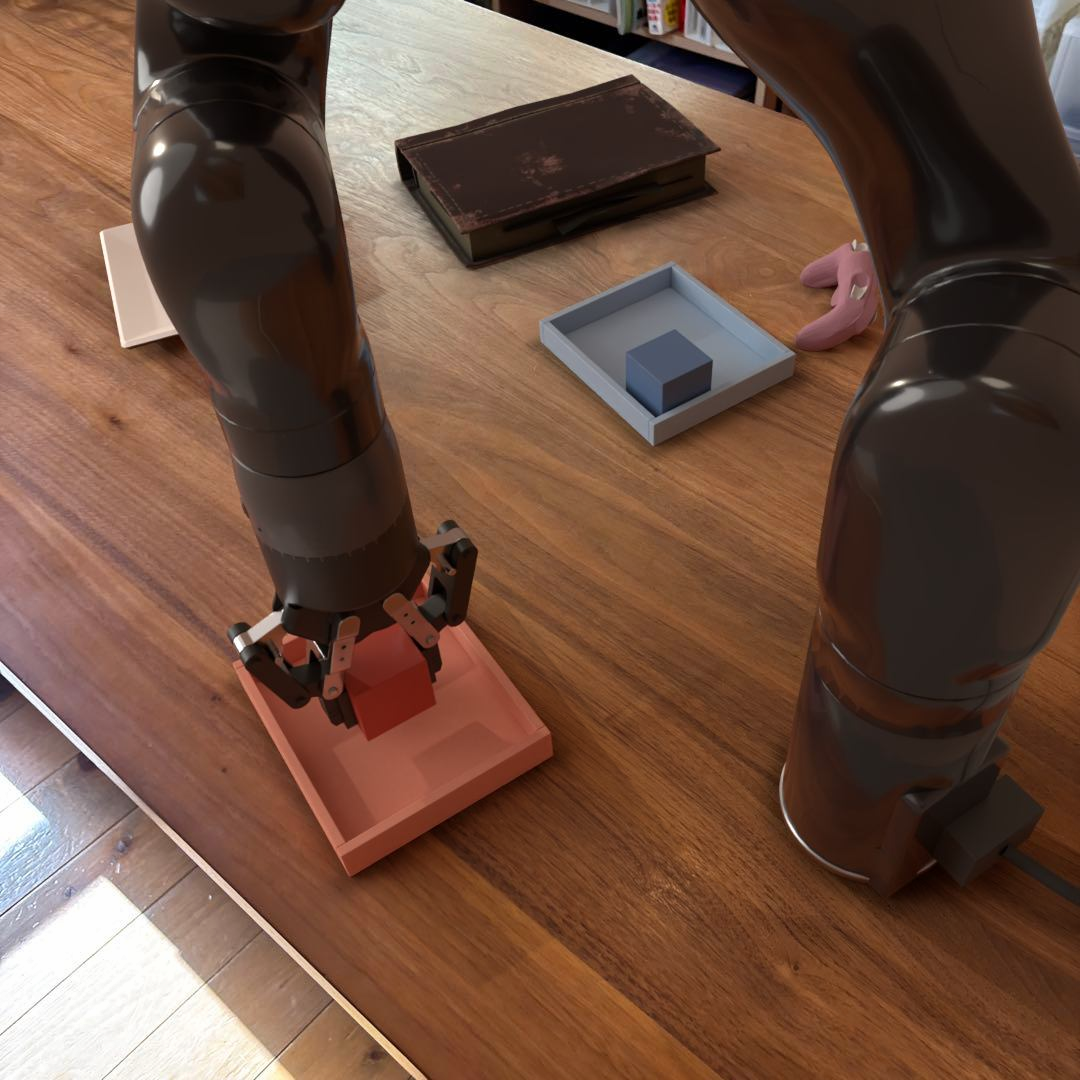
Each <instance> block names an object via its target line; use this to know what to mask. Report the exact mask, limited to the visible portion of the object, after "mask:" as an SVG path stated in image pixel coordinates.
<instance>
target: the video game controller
mask: <svg viewBox="0 0 1080 1080" xmlns="http://www.w3.org/2000/svg"><path fill="white" fill-rule="evenodd" d="M799 283H800V284H801V285H803V286H806V287H811V288H816V289H824V288H829V287H833V286H835V285H837V287H836V288H835V291H834V292H833V293H832V297H831V298H830V299H831V300H830V306H831V307H832V309H831V310H829V311H828V312H827V313H825V314H824V315H822V316H820V317H819V318H817V319H815V320H813V321H811V322H810V323H807V324H806V325H804V326H803V327H802V328H801V329H800V330H798V332H796V334H795V337H794V345H795V347H796V348H798V349H800V350H801V351H802V350H803V351H809V352H820V351H826V350H829V349H831V348H834V347H837V346H838V345H841V343H843V342H845V341H847V340H849V339H850V338H851V337H853V336H857V335H860V334H861V333H862V332H863V331H865V329H866V328H867V327H869V326H871V325H872V324H874V323H875V322H876V320H877V316H878V311H877V308H878V305H879V296H878V294H877V290H878V287H879V284H878V280H877V277H876V273H875V270H874V266H873V263H872V259H871V256H870V252H869V249H868V246H867V243H866V242H858V241H857V239H853V241H849V242H848V241H847V242H846V243H844V244H842V245H840V246H839V247H838V248H836V249H834V250H833V251H832V252H830V253H828V254H826V255H824V256H822V257H819V258H817V259H816V260H814V261H812V262H811V263H809V264H807V265H806V266H805V267H804V268H803V269H802V271H801V272H800V275H799Z"/></svg>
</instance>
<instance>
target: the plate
mask: <svg viewBox="0 0 1080 1080" xmlns="http://www.w3.org/2000/svg"><path fill="white" fill-rule="evenodd" d="M99 237H100V242H101V248H102V253H103V258H104V264H105V269H106V275H107V279H108V284H109V289H110V294H111V300H112V305H113V310H114V315H115V320H116V326H117V331H118V335H119V336H118V337H119V342H120V347H121V348H124V349H127V350H133V349H138V348H140V347H144V346H148V345H151V344H156V343H159V342H162V341H163V342H164V341H166V340H170V339H174V338H178V337H180V336H179V334H178V332H177V331H176V329H175V327H174V326H173V324H172V322H171V321H170V319H169V317H168V315H167V314H166V312H165V310H164V308H163V306H162V304H161V302H160V300H159V298H158V296H157V294H156V292H155V289H154V287H153V285H152V282H151V280H150V277H149V275H148V272H147V270H146V267H145V264H144V261H143V258H142V255H141V252H140V249H139V246H138V242H137V239H136V235H135V230H134V226H133V222H130V223H125V224H122V225H117V226H113V227H109V228H105V229H103V230H101V231H100V232H99Z"/></svg>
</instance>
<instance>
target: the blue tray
mask: <svg viewBox="0 0 1080 1080" xmlns="http://www.w3.org/2000/svg"><path fill="white" fill-rule="evenodd" d="M538 325H539V336H540V338H539V339H540V342H541V343H542V345H544V346H545V347H546V349H548V350H549V351H550V352H552V353H553V354H554V355H555V357H557V358H558V359H559V360H560V361H561V362H563V364H564V365H565V366H566V367H568V369H570V370H571V371H572V372H573V374H575V375H576V376H577V377H578V378H580V379H581V381H583V382H584V383H585V384H586V385H587V386H588V387H589V388H590V389H591V390H592V391H594V393H596V394H597V395H598V397H600V398H601V399H602V400H603V401H604V402H605V403H606V404H607V405H609V406H610V407H611V409H613V411H615V412H616V413H617V414H618V415H619V416H620V417H621V418H622V419H623V420H624V421H626V422H627V423H628V424H629V425H630V426H631V427H632V428H633V429H634V430H635V431H636V432H638V433H639V434H640V436H642V437H643V438H644V439H645V440H646V441H647V442H648V443H650V444H651V446H653V447H655V446H657V445H659V444H661V443H663V442H665V441H666V440H669V439H671V438H673V437H675V436H677V435H678V434H680V433H683V432H684V431H686V430H688V429H690V428H692V427H695V426H696V425H698V424H700V423H702V422H705V421H706V420H708V419H710V418H712V417H714V416H716V415H718V414H720V413H721V412H723V411H726V410H728V409H730V408H732V407H733V406H735V405H737V404H739V403H741V402H743V401H746V400H747V399H749V398H752V397H753V396H756V395H757V394H759V393H761V392H762V391H764V390H765V391H766V390H767V389H768V388H771V387H773V386H775V385H776V384H779V383H780V382H782V381H785V380H786V379H788V378H790V377H792V376H794V371H795V363H796V357H797V353H795V352H794V351H793V350H792V349H790V348H789V347H788V346H786V345H785V344H783V343H782V342H781V341H780V340H778V339H777V338H775V336H773V335H772V334H770V333H769V332H768V331H766V330H765V329H764V328H762V327H761V326H759V325H758V324H757V323H756V322H754V321H753V320H751V318H749V317H748V316H746V315H745V314H744V313H742V312H741V311H740V310H739V309H738V308H736V307H734V306H733V304H730V303H729V302H728V301H726V300H725V299H724V298H723V297H722V296H720V295H718V293H716V292H715V291H713V290H712V289H711V288H709V287H708V286H707V285H705V284H704V283H703V282H702V281H700V280H698V278H696V277H695V276H694V275H692V274H691V273H690V272H688V271H687V270H685V269H684V268H682V267H681V266H680V265H679V264H678V263H677V262H674V260H671V261H669V262H667V263H665V264H662V265H660V266H657V267H656V268H654V269H651V270H649V271H647V272H645V273H642V274H641V275H637V276H636V277H633V278H631V279H629V280H627V281H624V282H623V283H620V284H618V285H615V286H613V287H610V288H609V289H606V290H604V291H602V292H599V293H597V294H595V295H593V296H591V297H589V298H585V299H583V300H582V301H579V302H577V303H575V304H573V305H570V306H569V307H566V308H564V309H561V310H559V311H558V312H554V313H553V314H551V315H548V316H546V317H543V318H542V319H539V321H538ZM674 329H676V330H677V331H678V332H679V333H681V334H682V335H683V336H684V337H685V338H687V339H688V340H689V341H690V342H692V343H693V344H694V345H695V346H697V347H698V348H699V349H700V350H701V351H703V352H704V353H705V354H706V355H708V356H709V357H710V358H711V359H713V368H712V382H711V390H710V391H708V392H706V393H704V394H702V395H700V396H698V397H696V398H694V399H692V400H690V401H688V402H686V403H684V404H682V405H680V406H678V407H676V408H674V409H672V410H670V411H668V412H666V413H664V414H662V415H660V416H658V417H656V418H655V417H654V416H653V415H652V414H651V413H650V412H649V411H648V410H646V409H645V408H644V407H643V406H642V405H641V404H640V403H639V402H638V401H636V400H635V399H634V398H633V397H632V396H631V395H630V394H629V393H628V392H626V352H627V351H629V350H631V349H634V348H636V347H638V346H640V345H642V344H644V343H646V342H648V341H650V340H653V339H655V338H657V337H659V336H661V335H663V334H665V333H667V332H670V331H672V330H674Z"/></svg>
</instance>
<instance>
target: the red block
mask: <svg viewBox="0 0 1080 1080" xmlns="http://www.w3.org/2000/svg"><path fill="white" fill-rule="evenodd" d="M344 687H345V688H346V690H347V692H348V695H349V698H350V701H351V704H352V707H353V710H354V713H355V716H356V719H357V722H358V724H357V725H358V726H359V728H360V730H361V731H362V733H363V734H364V736H365V738H366V739H367V741H371V740H372V739H374V738H376V737H378V736H380V735H381V734H383V733H385V732H387V731H389V730H391V729H392V728H394V727H396V726H398V725H400V724H401V723H403V722H405V721H407V720H409V719H411V718H412V717H414V716H416V715H418V714H420V713H421V712H423V711H425V710H427V709H429V708H431V707H432V706H434V705H436V700H435V696H434V691H433V687H432V683H431V678H430V674H429V670H428V665H427V661H426V659H425V657H424V656H423V654H422V653H421V652H420V650H419V649H418V647H417V646H416V644H415V643H414V642H413V640H412V639H411V637H410V636H409V635H408V633H407V632H406V631H405V630H404V629H403V628H402V627H401V626H400V625H399V624H398V623H396V624H394V625H392V626H390V627H388V628H386V629H383V630H380V631H376V632H373V633H372V634H370V635H369V636H367V637H366V638H365V639H363V640H362V641H361V642H359V643H357V644H355V645H354V652H353V659H352V666H351V669H349V670H346V674H345V681H344Z"/></svg>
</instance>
